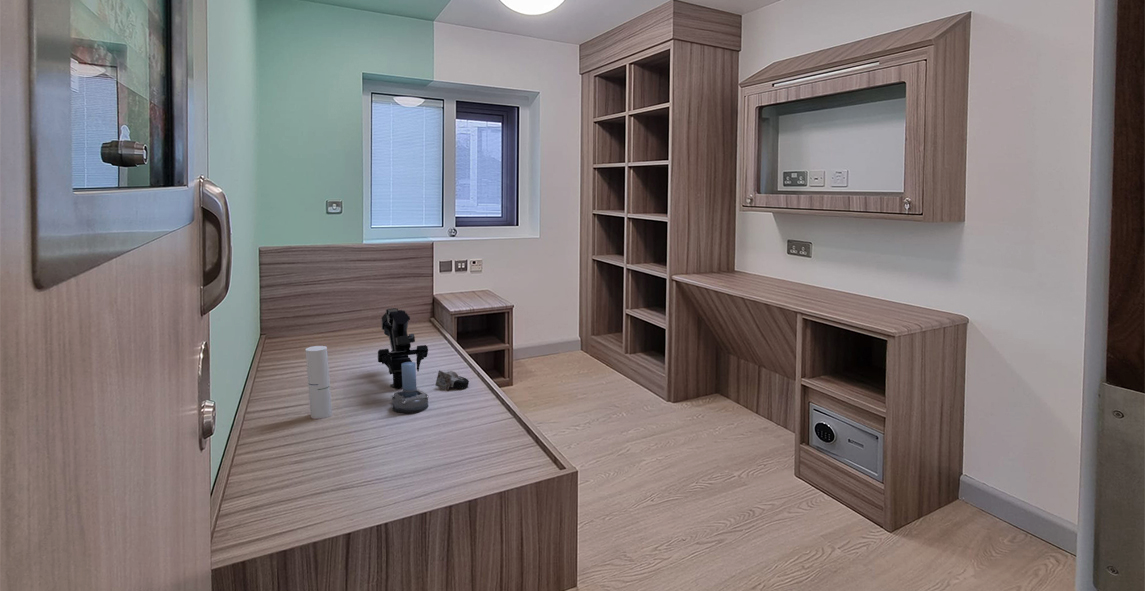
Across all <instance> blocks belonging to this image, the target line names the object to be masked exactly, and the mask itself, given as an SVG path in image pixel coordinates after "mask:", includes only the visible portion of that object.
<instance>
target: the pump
mask: <svg viewBox="0 0 1145 591" xmlns="http://www.w3.org/2000/svg"><path fill="white" fill-rule="evenodd" d="M401 366H402V386H403V388H402V391H403V395H402V397H404V398H408V397H412V396H416V395H418V394H417V389H418V387H417V366H416V362H414V361H412V362H405V363H402V364H401Z"/></svg>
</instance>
